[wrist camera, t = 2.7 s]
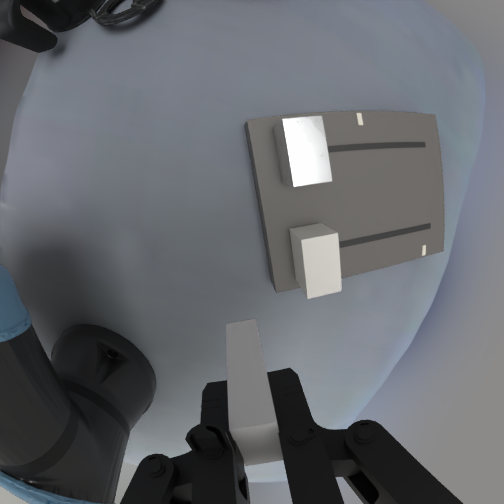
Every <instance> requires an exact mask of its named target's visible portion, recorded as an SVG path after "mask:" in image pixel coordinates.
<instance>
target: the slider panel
mask: <svg viewBox="0 0 504 504" xmlns="http://www.w3.org/2000/svg"><path fill="white" fill-rule="evenodd" d="M310 116H322V120H323V125H324V131H325V136H326V142H327V148H328V155H329V161H330V168H331V175H332V181H330V182H323V183H316V184H309V185H302V186H296V187H293V186H289V185H285V184H282V178H281V172H280V166H279V160H278V154H277V148H276V142H275V137H274V131H273V127H274V126H275V125H276V124H277V123H278V122H279V121H281V120H282V119H288V118H298V117H310ZM245 131H246V136H247V142H248V147H249V153H250V158H251V164H252V170H253V175H254V181H255V187H256V193H257V198H258V204H259V210H260V216H261V222H262V228H263V234H264V240H265V246H266V252H267V258H268V264H269V270H270V276H271V282H272V284H273V286H274V289H275V291H276V293H278V292H282V291H287V290H292V289H296V288H301V287H300V286H299V284H298V283H297V281H296V276H295V268H294V260H293V253H292V245H291V238H290V231H289V229H291V228H296V227H302V226H307V225H313V224H318V223H322V224H324V225H325V226H327V227H329V228H330V229H332V230H334V231H335V232H337V233H338V239H339V252H340V268H341V278H344V277H349V276H353V275H357V274H361V273H365V272H369V271H373V270H377V269H380V268H384V267H388V266H392V265H396V264H399V263H403V262H407V261H410V260H414V259H417V258H421V257H425V256H428V255H432V254H435V253H438V252H442V251H444V184H443V170H442V159H441V150H440V142H439V135H438V128H437V122H436V117H435V115H434V114H423V113H410V112H389V111H340V112H318V113H304V114H293V115H283V116H274V117H265V118H258V119H251V120H247V121H246V124H245Z"/></svg>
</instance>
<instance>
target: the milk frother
mask: <svg viewBox="0 0 504 504" xmlns="http://www.w3.org/2000/svg"><path fill="white" fill-rule="evenodd" d="M104 1H105V0H0V39H2V40H5V41H8V42H11V43H13V44H16V45H19V46H22V47H24V48H27V49H30V50H32V51H35V52H38V53H40V52H44V51H47V50H50V49H52V48H54V47H55V45H56V43H57V40H58V38H57V37H56V35H54V34H53V33H51V32H49V31H48V30H46V29H44V28H42V27H41V26H39V25H38V24H36V23H34V22H33V21H31V20H29V19H27V18H25V17H24V16H23V15H22V13H21V10H20V5H22V6H23V7H24V8H26V9H27V10H28V11H30V12H32V13H33V14H34V15H35V16H37V17H38V18H39V19H41V20H42V21H43V22H44V23H45V24H47V26H48V28H49V29H50V30H52V31H56V32H60V31H65V30H68V29H71V28H73V27H75V26H77V25H79V24H80V23H82V22H84V21H85V20H86V19H88V18H89V17H90V16H92V17H93V19H94V20H95V21H96V22H97V23H99V24H101V25H113V24H117V23H120V22H123V21H125V20H128V19H130V18H132V17H134V16H136V15H138V14H140V13H142V12H144V11H145V10H147V9H148V8H150V7H151V6H153V5H154V4H156V3H157V2H158V1H159V0H133V4H132V5H131V8H130V9H128V10H125V11H123V12H121V13H118V14H114V15H113V14H108V12H109V10H110V9H111V8H112V7H113V6H114V5H115V4H116V3H117V2H118V1H120V0H109V1H108V2H107V3H105V5H104V6H103V7H102V8H101V9H100V11H99V13H98V14H96V11H97V10H98V8H99V7H100V6H101V5H102V3H103V2H104Z"/></svg>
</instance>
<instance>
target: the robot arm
mask: <svg viewBox="0 0 504 504" xmlns="http://www.w3.org/2000/svg"><path fill="white" fill-rule="evenodd" d="M31 322H32V321H31V318H30V315H29V312H28V310H27V309H26V308H25V307H24V306H23V303H22V301H21V299H20V296H19V294H18V291H17V289H16V286H15V284H14V281H13V279H12V277H11V275H10V273H9V272H8V270H7V269H6V268H5V267H4V266H2V265H1V264H0V486H2V487H3V488H5V489H6V490H8V491H9V492H10V493H12V494H14V495H15V496H17V497H19V498H20V499H22V500H24V501H26V502H27V503H29V504H115V503H114V500H115V496H116V490H117V486H118V481H119V476H120V472H121V467H122V463H123V458H124V454H125V450H126V446H127V442H128V438H129V434H130V431H131V429H132V428H133V427H134V425H135V424H136V423H137V421H138V420H139V419H140V417H141V416H142V414H144V413H145V412H146V411H147V410H148V409H149V407H150V406H151V404H152V401H153V398H154V394H155V390H156V379H155V375H154V372H153V369H152V367H151V366H150V364H149V362H148V361H147V359H146V358H145V357H144V356H143V354H142V353H141V352H140V351H139V350H138V349H137V348H136V347H135V346H134V345H132V344H131V343H130V342H128V341H127V340H126V339H124V338H123V337H121V336H119V335H118V334H116V333H114V332H112V331H110V330H107V329H104V328H101V327H98V326H93V325H77V326H73V327H71V328H69V329H67V330H66V331H65V332H64V333H63V334H62V335H61V336H60V338H59V339H58V340H57V341H56V343H55V345H54V347H53V349H52V354H51V361H50V360H49V359H48V357H47V355H46V353H45V351H44V349H43V347H42V345H41V343H40V341H39V339H38V337H37V334H36V332H35V330H34V328H33V326H32V323H31ZM226 350H227V380H225V381H218V382H211V383H207V385H206V387H205V388H204V390H203V392H202V405H201V409H202V410H201V422H200V424H199V425H197V426H195V427H193V428H192V429H191V430H190V431H189V432H188V433H187V436H186V439H185V440H186V441H187V443H188V444H189V446H190V447H191V449H192V450H191V451H190V452H188V453H186V454H183V455H180V456H177V457H173V458H169V457H168V456H165V455H163V454H152V455H149V456H147V457H145V458H144V459H143V460H142V461H141V462H140V464H139V466H138V468H137V470H136V472H135V474H134V476H133V478H132V480H131V482H130V484H129V486H128V488H127V490H126V492H125V494H124V497H123V498H122V500H121V502H120V504H250V497H249V488H248V479H247V476H246V473H245V470H244V464H245V466H248V465H255V464H262V463H268V462H274V461H279V460H284V465H285V469H286V474H287V479H288V483H289V488H290V493H291V498H292V502H293V504H344V501H343V498H342V495H341V493H340V489H339V486H338V484H337V481H336V478H335V477H343V478H344V479H345V480H346V482H347V483H348V484H349V486H350V487H351V488H352V490H353V491H354V492H355V493H356V495H357V496H358V497H359V498H360V500H361V501H362V502H363V503H364V504H463V503H462V502H461V501H460V500H459V499H458V498H457V497H455V496H454V495H453V494H452V493H451V492H450V491H449V490H448V489H447V488H445V487H444V485H442V484H441V483H440V482H439V481H438V480H437V479H436V478H435V477H434V476H433V475H432V474H431V473H430V472H429V471H428V470H427V469H425V468H424V467H423V466H422V465H421V464H420V463H419V462H418V461H417V460H416V459H415V458H414V457H413V456H412V455H411V454H410V453H409V452H408V451H407V450H406V449H405V448H404V447H403V446H402V445H401V444H400V443H399V442H398V441H396V440H395V438H394V437H393V436H392V435H391V434H390V433H389V432H388V431H387V430H385V429H384V427H382V425H380V424H379V423H377V422H376V421H372V420H360V421H358V422H355V423H353V424H352V425H351V426H349V427H348V429H339V430H332V429H325V428H322V427H321V426H319V425H317V424H316V423H315V422H314V420H313V418H312V415H311V412H310V409H309V406H308V404H307V401H306V398H305V395H304V392H303V389H302V386H301V383H300V380H299V377H298V374H296V373H295V372H294V371H293V370H292V369H291V368H287V369H282V370H277V371H272V372H266V367H265V362H264V357H263V352H262V347H261V342H260V337H259V333H258V328H257V323H256V319H251V320H245V321H240V322H235V323H229V324H226Z"/></svg>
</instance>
